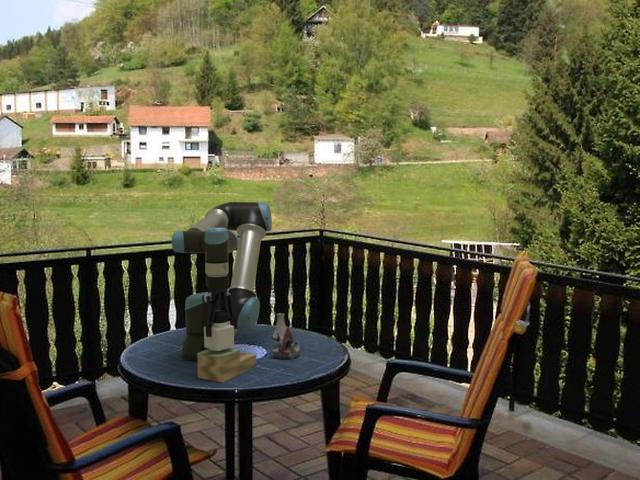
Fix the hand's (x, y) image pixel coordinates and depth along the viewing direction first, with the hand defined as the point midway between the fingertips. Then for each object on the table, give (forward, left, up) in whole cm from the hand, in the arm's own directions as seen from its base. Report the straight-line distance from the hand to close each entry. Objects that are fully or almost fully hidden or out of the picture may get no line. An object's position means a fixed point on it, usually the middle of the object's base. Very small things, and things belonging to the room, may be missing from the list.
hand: (218, 342), depth 212 cm
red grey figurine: (+8, +30, -12) cm, 33 cm away
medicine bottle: (0, 0, -2) cm, 2 cm away
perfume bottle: (-28, +43, -11) cm, 53 cm away
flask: (-7, +52, -11) cm, 54 cm away
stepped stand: (0, +5, -11) cm, 12 cm away
